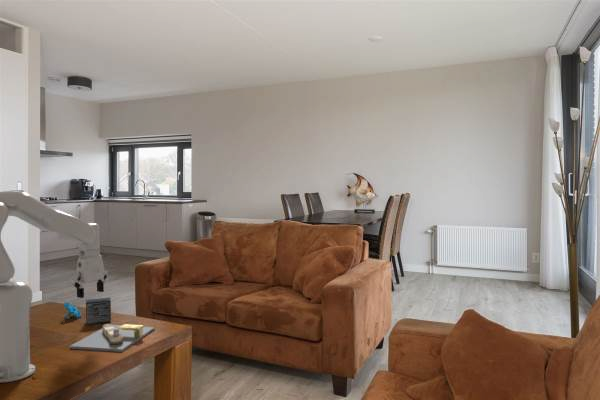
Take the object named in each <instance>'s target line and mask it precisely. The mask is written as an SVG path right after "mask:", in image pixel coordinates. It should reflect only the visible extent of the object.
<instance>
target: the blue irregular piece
mask: <svg viewBox="0 0 600 400" xmlns="http://www.w3.org/2000/svg"><path fill="white" fill-rule="evenodd" d="M63 307H65V310H67V312H68V313H67V314H65V315H64V317H63V318H64V319H65V320H66V319H67V318H68V317H69V316H71V315H72V316H73V317H76V318H77V319H78V318H79V319H80V318H82V315H83V314H82V313H81V310H79V309H78V307H77V306H74V304H71V303H70V302H67V301H66V302H64V304H63Z"/></svg>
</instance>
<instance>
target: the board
mask: <svg viewBox="0 0 600 400" xmlns="http://www.w3.org/2000/svg"><path fill="white" fill-rule="evenodd" d="M111 325H112V326H113V327H114V328H115V329H119V327H120V326H122V325H123V324H122V325H121V324H120V325H119V324H111ZM155 329H156V328H155V327H153V326H144V328H143V336H142V337H140V338H135V337H134V330H119V333H120V334H123V342H122V343H120V344H110V340H109V339H108V338H107V337H106V335H105V334H104V333H103V327H102V328H100V329H98V330H97V331H95V332H92V333H91V334H89V335H87V336H86V337H84V338H82V339H80V340H78V341H75V343H73V344H71V345H69V349H73V350H86V351H99V352H100V351H103V352H114V353H115V352H118V353H123V352H124V351H126V350H127V349H128V348H130V347H131V346H133V345H134V344H136V343H137V342H139V341H140V340H141V339H143V338H144V337H146V336H147V335H149V334H150V333H152V332H153V331H155Z"/></svg>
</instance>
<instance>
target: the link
mask: <svg viewBox="0 0 600 400" xmlns="http://www.w3.org/2000/svg"><path fill="white" fill-rule="evenodd" d="M112 325H113V324H111V323H106V324H105V323H104V324H103V325H102V328H103V333H104V334H105V335H106V337H107V338H108V339H109V340H110V344H120V343H122V342H123V334H120V333H119V329H115V328H114V327H113V326H112Z"/></svg>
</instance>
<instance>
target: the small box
mask: <svg viewBox="0 0 600 400" xmlns="http://www.w3.org/2000/svg"><path fill="white" fill-rule="evenodd" d="M111 300H112V299H111V297H103V298H102V297H101V298H92V299H86V301H85V319H86V321H85V322H86V323H85V326H88V325H89V326H90V325H96V324H105V323H106V324H109V323H111V322H112V308H111V306H112V305H111V304H112V303H111Z"/></svg>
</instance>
